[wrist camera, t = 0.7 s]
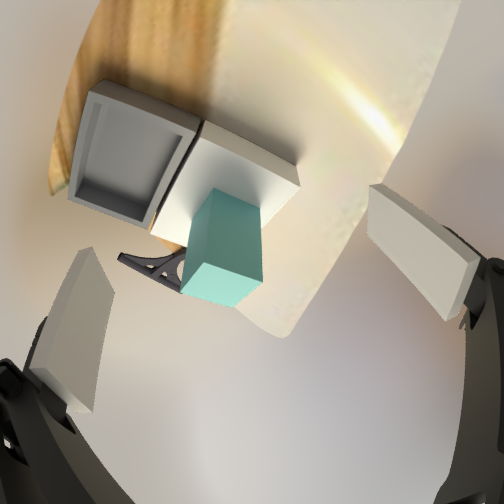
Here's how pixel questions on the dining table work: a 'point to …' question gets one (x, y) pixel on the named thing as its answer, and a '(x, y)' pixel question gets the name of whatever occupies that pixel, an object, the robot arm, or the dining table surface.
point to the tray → (127, 152)
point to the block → (223, 250)
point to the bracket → (157, 267)
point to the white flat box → (223, 180)
